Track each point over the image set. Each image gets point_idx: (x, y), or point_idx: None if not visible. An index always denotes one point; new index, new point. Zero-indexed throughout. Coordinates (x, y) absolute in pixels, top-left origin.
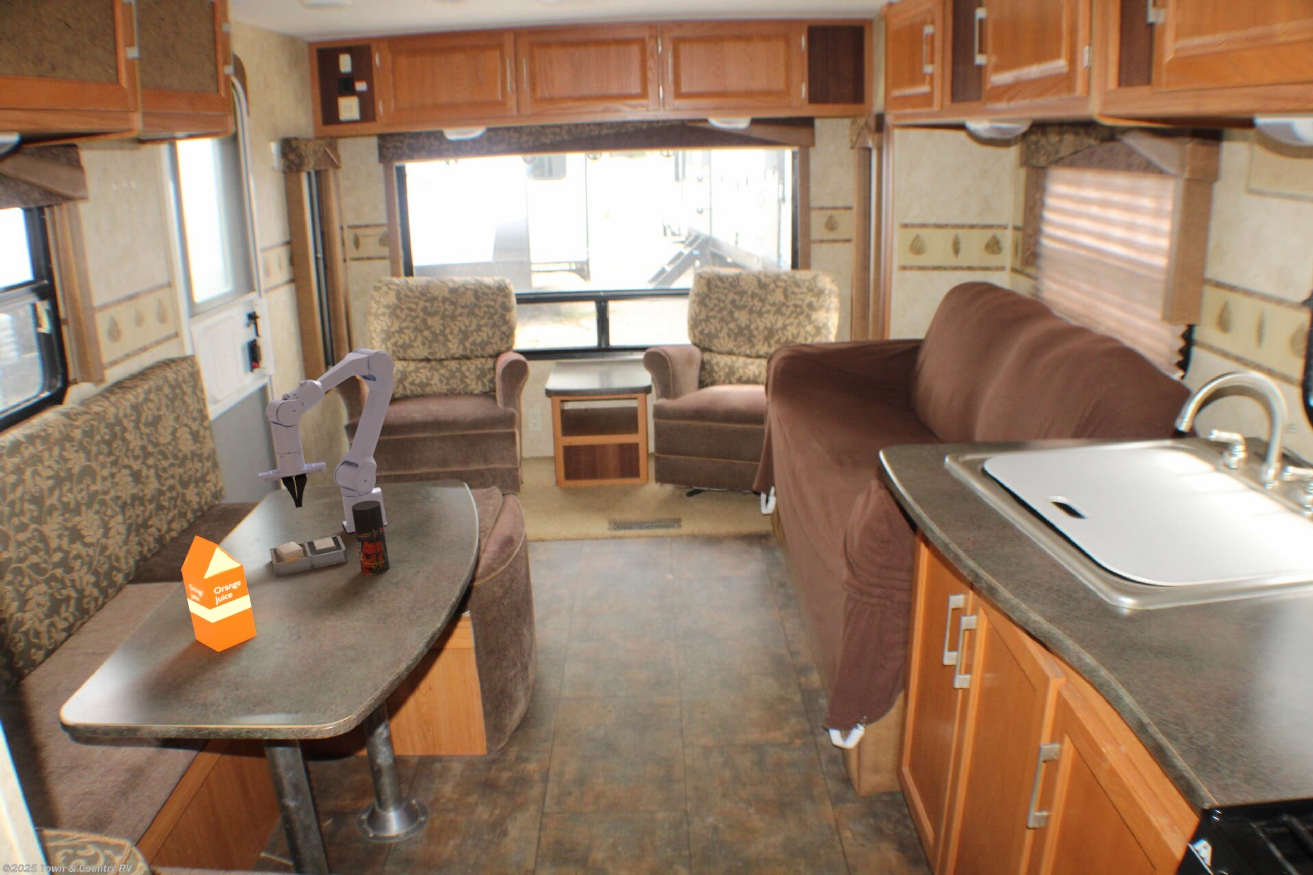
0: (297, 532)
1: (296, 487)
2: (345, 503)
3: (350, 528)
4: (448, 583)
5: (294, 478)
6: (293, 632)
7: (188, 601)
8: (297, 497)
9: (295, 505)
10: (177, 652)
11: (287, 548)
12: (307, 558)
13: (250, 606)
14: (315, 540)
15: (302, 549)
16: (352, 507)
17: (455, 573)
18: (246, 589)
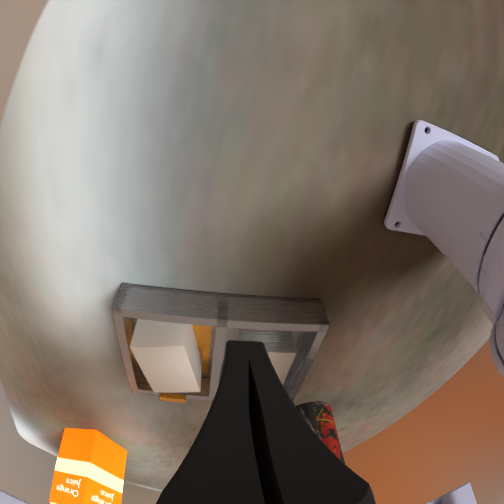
0: (248, 67)
1: (259, 457)
2: (457, 248)
3: (402, 209)
4: (343, 448)
5: (278, 498)
6: (164, 460)
7: (56, 467)
8: (251, 381)
9: (223, 365)
10: (56, 432)
11: (162, 374)
12: (205, 399)
13: (122, 480)
14: (254, 328)
15: (200, 389)
16: None
17: (366, 437)
18: (120, 498)
